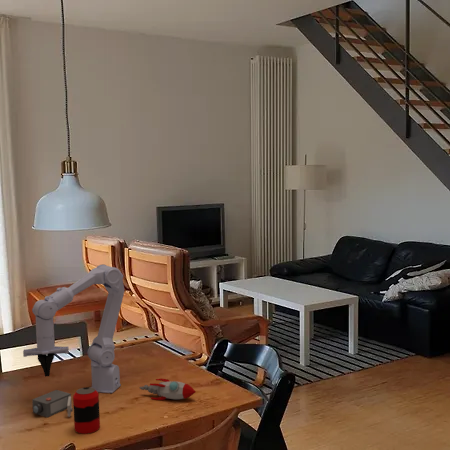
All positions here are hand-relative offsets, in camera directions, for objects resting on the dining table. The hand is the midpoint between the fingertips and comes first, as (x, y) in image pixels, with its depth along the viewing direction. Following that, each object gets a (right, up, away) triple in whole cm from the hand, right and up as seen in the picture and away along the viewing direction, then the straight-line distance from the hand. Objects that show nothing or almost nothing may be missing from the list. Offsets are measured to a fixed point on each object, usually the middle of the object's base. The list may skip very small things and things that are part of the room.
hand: (47, 375), depth 209 cm
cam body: (+3, -10, -5) cm, 12 cm away
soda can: (+18, -12, -20) cm, 30 cm away
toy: (+40, -9, +3) cm, 41 cm away
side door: (+10, -10, -8) cm, 16 cm away
